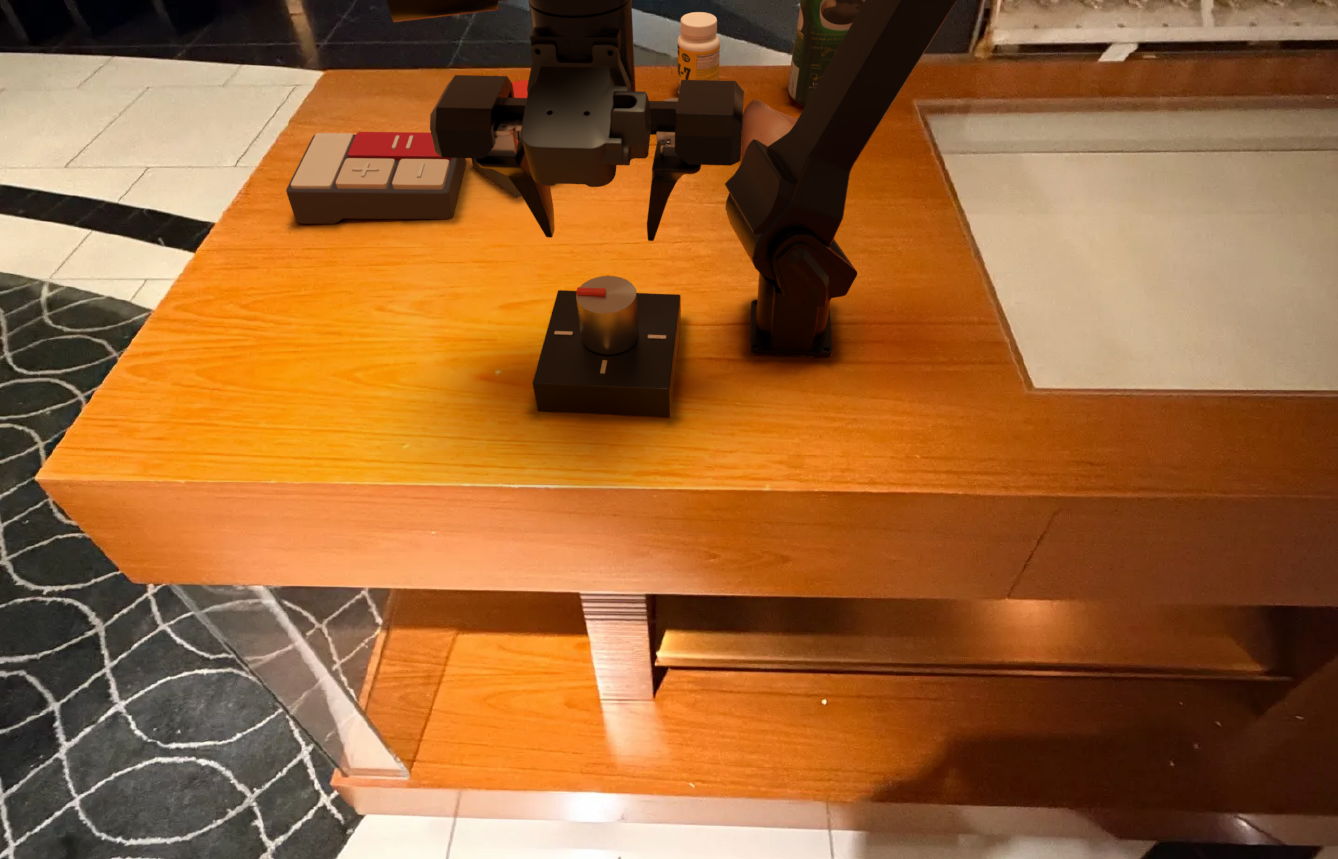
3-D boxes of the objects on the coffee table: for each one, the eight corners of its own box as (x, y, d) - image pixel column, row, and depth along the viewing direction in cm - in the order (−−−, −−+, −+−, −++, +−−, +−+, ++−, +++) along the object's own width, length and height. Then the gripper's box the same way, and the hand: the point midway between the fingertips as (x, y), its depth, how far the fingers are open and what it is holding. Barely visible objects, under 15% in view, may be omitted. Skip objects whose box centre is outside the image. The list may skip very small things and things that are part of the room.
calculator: (446, 185, 80) (281, 184, 79) (453, 225, 83) (294, 224, 82) (462, 128, 87) (311, 126, 86) (467, 166, 90) (322, 165, 89)
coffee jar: (867, 81, 101) (894, -98, 87) (875, 112, 96) (905, -73, 82) (784, 80, 101) (799, -98, 88) (787, 112, 96) (803, -72, 82)
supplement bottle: (671, 88, 100) (670, 14, 94) (709, 81, 102) (710, 7, 95) (686, 106, 97) (686, 30, 91) (725, 98, 98) (727, 23, 92)
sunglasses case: (833, 216, 80) (802, 160, 76) (766, 248, 83) (733, 195, 79) (819, 124, 93) (792, 72, 89) (761, 154, 96) (732, 105, 92)
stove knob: (641, 318, 67) (639, 273, 64) (635, 355, 64) (633, 310, 61) (585, 316, 67) (580, 271, 64) (577, 353, 64) (571, 308, 61)
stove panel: (670, 418, 64) (669, 387, 61) (537, 411, 64) (531, 381, 62) (680, 323, 71) (680, 292, 69) (561, 318, 72) (557, 288, 69)
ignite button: (555, 114, 85) (552, 89, 83) (522, 128, 83) (518, 102, 81) (532, 100, 87) (528, 76, 85) (499, 113, 85) (494, 88, 83)
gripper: (370, 56, 43) (437, 304, 54) (744, 64, 41) (732, 316, 53) (431, -25, 50) (478, 207, 62) (749, -21, 49) (737, 215, 60)
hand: (600, 236), depth 59 cm, fingers open, 7 cm apart
